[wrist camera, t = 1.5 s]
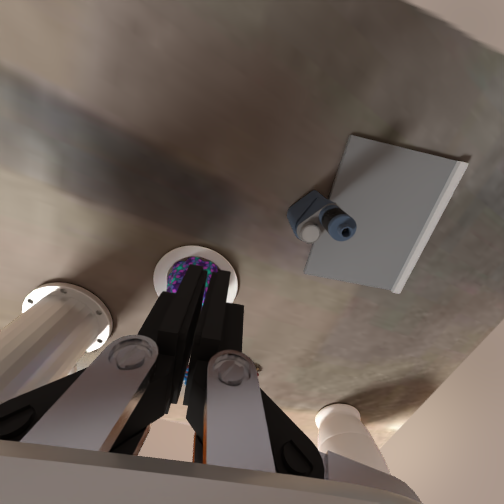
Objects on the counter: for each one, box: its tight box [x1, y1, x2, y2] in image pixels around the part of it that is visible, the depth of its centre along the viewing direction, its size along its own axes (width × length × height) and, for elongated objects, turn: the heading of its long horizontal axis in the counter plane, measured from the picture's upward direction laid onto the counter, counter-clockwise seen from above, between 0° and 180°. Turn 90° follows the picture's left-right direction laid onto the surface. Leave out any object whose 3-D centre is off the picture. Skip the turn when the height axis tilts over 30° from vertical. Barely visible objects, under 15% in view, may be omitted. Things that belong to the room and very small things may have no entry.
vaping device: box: [287, 190, 357, 244], centre depth 27 cm, size 3×5×12 cm, turn 128°
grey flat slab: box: [304, 135, 469, 294], centre depth 33 cm, size 18×14×1 cm
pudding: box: [153, 246, 238, 306], centre depth 35 cm, size 12×12×5 cm
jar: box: [315, 404, 391, 475], centre depth 43 cm, size 11×10×15 cm
